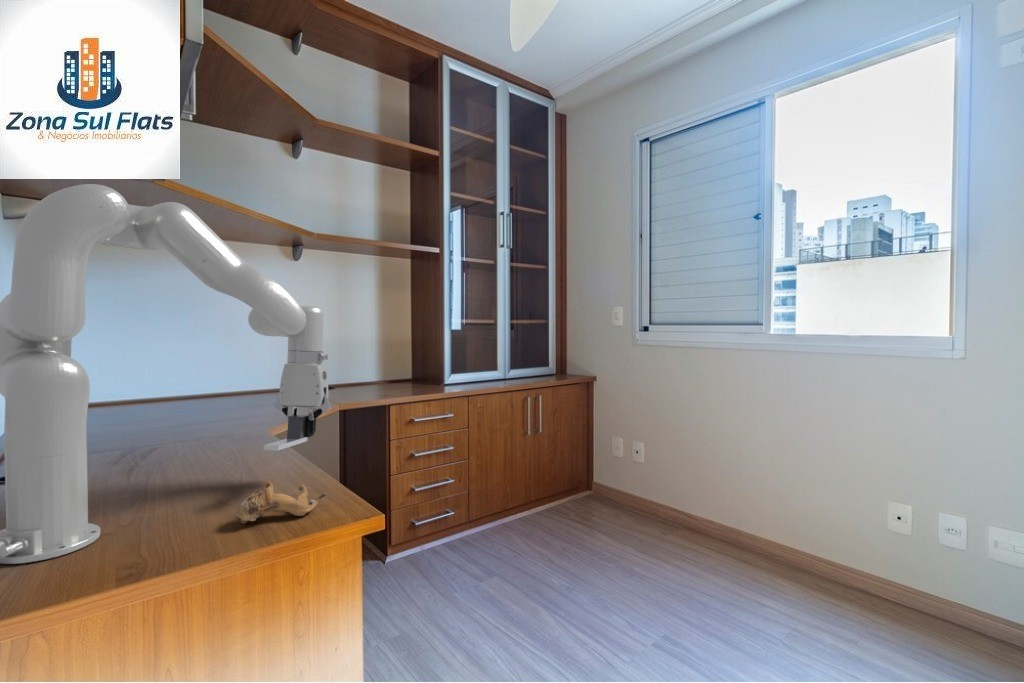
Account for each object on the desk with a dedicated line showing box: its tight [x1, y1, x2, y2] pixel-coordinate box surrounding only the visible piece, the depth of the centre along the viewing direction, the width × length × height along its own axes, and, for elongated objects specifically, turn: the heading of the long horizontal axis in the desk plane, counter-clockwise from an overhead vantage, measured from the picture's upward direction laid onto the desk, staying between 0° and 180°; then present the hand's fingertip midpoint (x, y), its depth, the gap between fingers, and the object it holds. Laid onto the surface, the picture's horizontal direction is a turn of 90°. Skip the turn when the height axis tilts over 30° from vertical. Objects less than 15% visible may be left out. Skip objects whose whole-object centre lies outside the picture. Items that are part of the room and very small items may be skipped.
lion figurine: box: [235, 481, 327, 525], centre depth 90 cm, size 15×5×9 cm
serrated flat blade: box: [263, 414, 309, 451], centre depth 105 cm, size 14×3×6 cm, turn 0°
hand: (302, 435), depth 112 cm, fingers closed on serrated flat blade, 3 cm apart
